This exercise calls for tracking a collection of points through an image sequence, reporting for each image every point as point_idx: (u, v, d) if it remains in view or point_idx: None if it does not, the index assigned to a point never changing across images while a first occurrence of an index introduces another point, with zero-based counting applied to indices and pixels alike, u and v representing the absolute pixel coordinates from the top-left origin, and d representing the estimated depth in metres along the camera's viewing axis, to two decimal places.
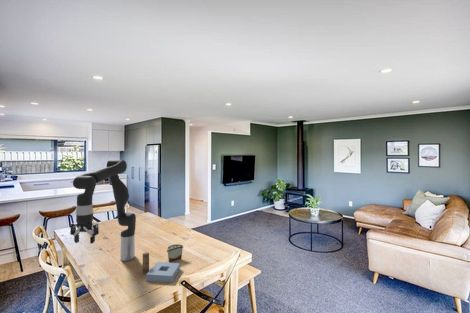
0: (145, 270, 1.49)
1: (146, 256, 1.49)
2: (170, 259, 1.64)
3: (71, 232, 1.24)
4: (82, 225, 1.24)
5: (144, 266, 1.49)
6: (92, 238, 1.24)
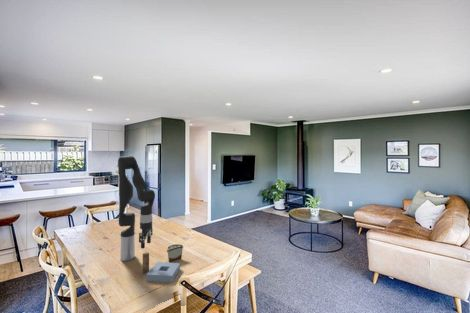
0: (145, 270, 1.49)
1: (146, 256, 1.49)
2: (170, 259, 1.64)
3: (143, 240, 1.44)
4: (147, 230, 1.50)
5: (144, 266, 1.49)
6: None
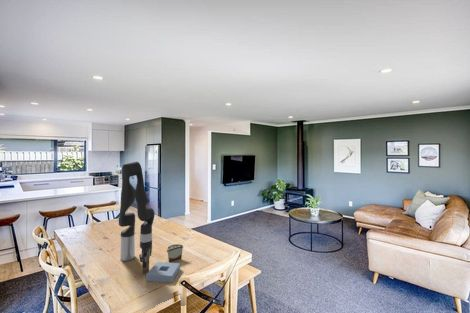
0: (145, 270, 1.49)
1: None
2: (170, 259, 1.64)
3: (144, 260, 1.46)
4: (147, 249, 1.51)
5: None
6: None
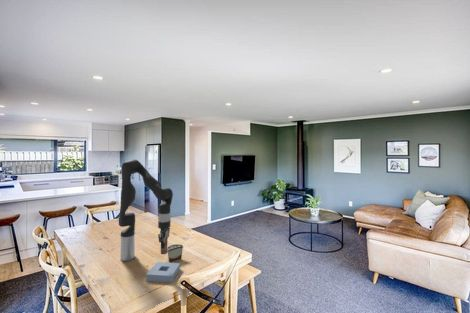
0: (163, 251, 1.46)
1: None
2: (170, 259, 1.64)
3: (163, 240, 1.43)
4: (165, 230, 1.47)
5: None
6: None
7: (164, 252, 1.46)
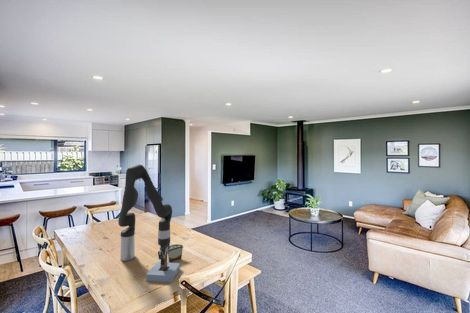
0: (163, 267, 1.46)
1: None
2: (170, 259, 1.64)
3: (162, 257, 1.43)
4: (165, 246, 1.47)
5: None
6: None
7: (164, 269, 1.46)
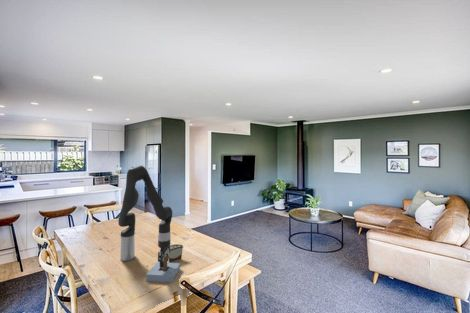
0: None
1: (164, 258, 1.46)
2: (170, 259, 1.64)
3: (162, 259, 1.42)
4: (165, 248, 1.48)
5: (162, 269, 1.46)
6: None
7: None
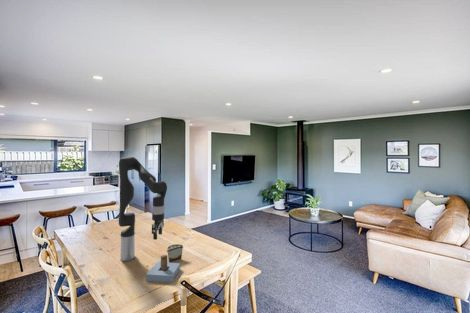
0: None
1: (164, 258, 1.47)
2: (170, 259, 1.64)
3: (155, 231, 1.44)
4: (159, 222, 1.50)
5: (162, 269, 1.46)
6: None
7: None
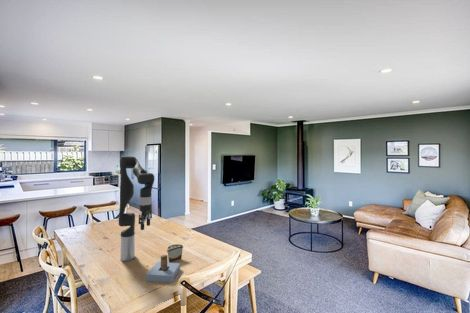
0: None
1: (164, 258, 1.47)
2: (170, 259, 1.64)
3: (142, 221, 1.47)
4: (146, 213, 1.53)
5: (162, 269, 1.46)
6: None
7: None
